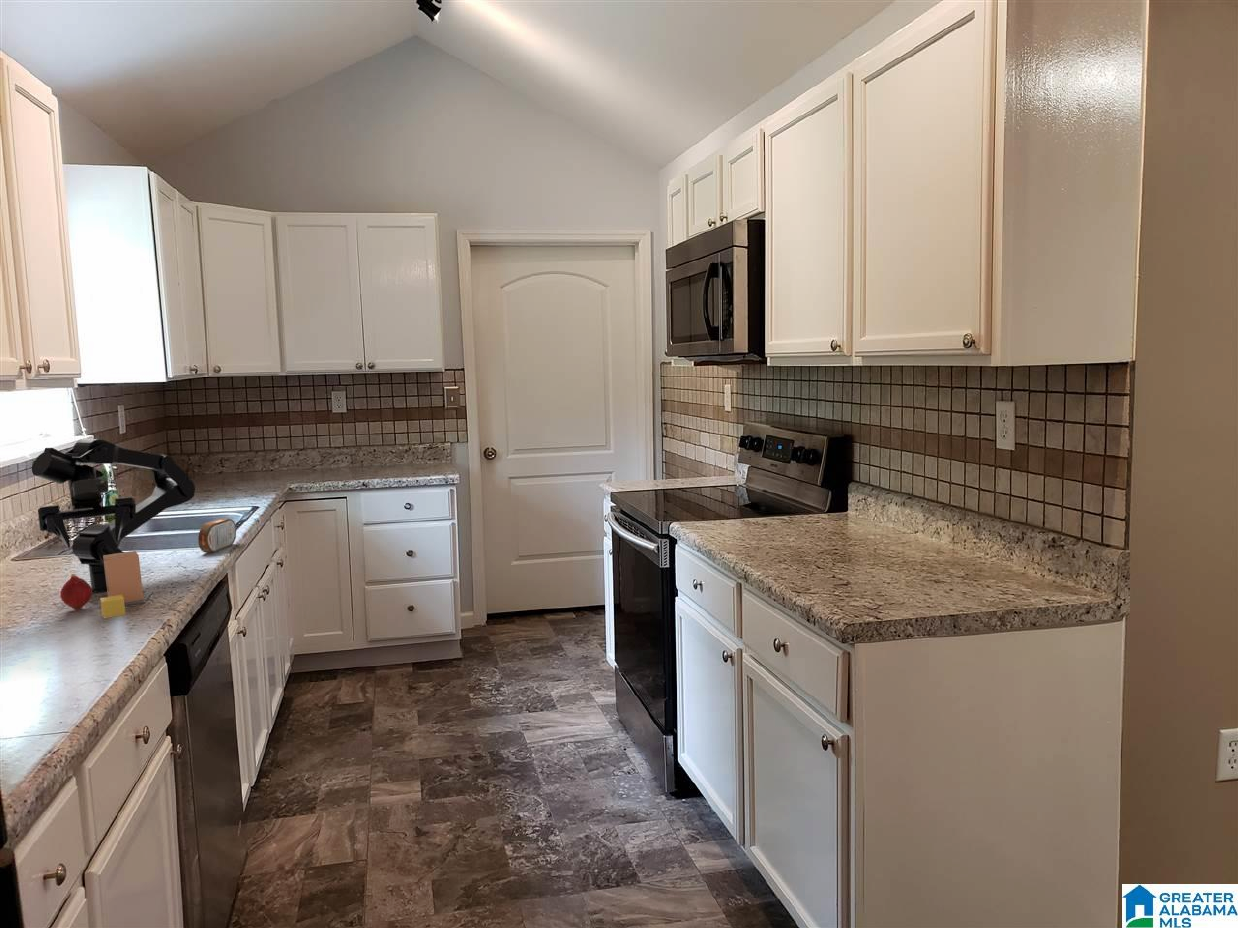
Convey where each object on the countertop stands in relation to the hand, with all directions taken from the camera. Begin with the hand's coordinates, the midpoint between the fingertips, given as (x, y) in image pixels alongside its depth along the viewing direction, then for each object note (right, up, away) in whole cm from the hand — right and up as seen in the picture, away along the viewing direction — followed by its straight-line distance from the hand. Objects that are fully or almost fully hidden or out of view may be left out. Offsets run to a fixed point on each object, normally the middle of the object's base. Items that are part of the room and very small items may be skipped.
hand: (93, 543), depth 198 cm
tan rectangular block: (+5, -13, +3) cm, 14 cm away
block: (+8, -14, -7) cm, 18 cm away
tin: (+4, -7, +55) cm, 55 cm away
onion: (-2, -14, -3) cm, 15 cm away
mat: (+5, -13, +3) cm, 15 cm away
